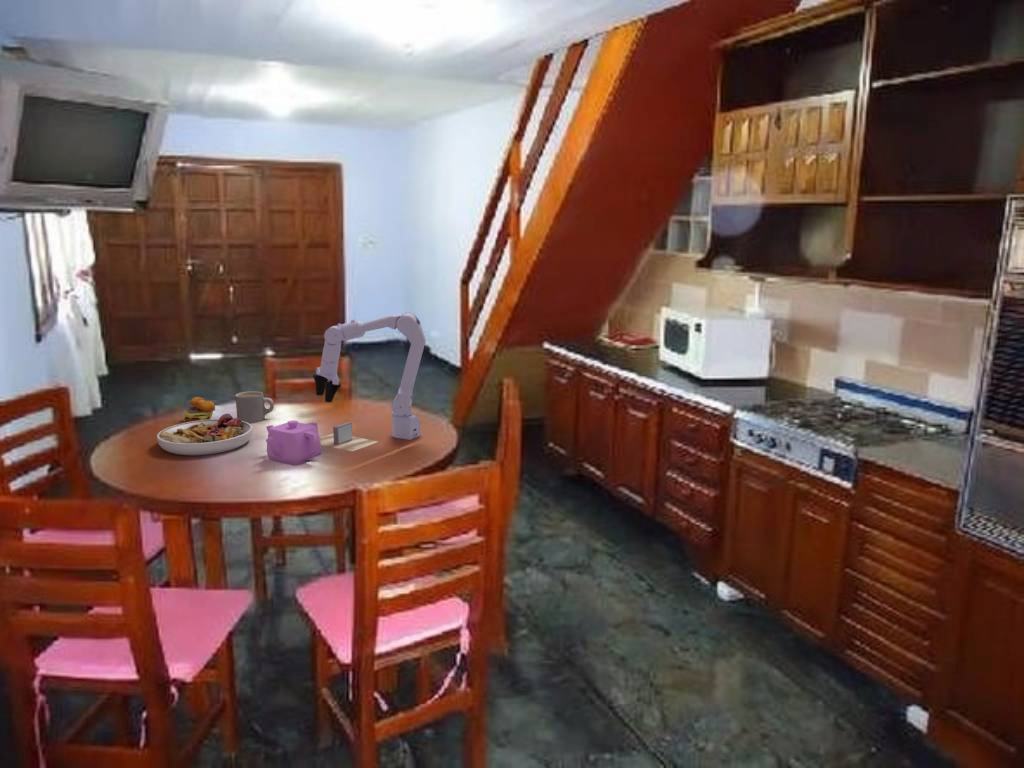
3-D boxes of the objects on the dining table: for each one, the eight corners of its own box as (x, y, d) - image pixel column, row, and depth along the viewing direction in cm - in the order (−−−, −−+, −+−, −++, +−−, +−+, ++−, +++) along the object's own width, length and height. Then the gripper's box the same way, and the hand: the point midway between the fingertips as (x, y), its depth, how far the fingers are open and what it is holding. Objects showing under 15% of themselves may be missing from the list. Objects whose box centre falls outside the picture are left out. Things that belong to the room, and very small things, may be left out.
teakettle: (322, 464, 235) (320, 426, 232) (265, 468, 230) (263, 430, 227) (321, 448, 251) (319, 412, 248) (268, 452, 246) (265, 416, 243)
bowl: (221, 461, 237) (219, 437, 235) (138, 455, 243) (135, 431, 241) (269, 435, 266) (268, 413, 264) (194, 430, 271) (192, 409, 270)
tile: (352, 439, 256) (352, 422, 255) (338, 444, 250) (337, 427, 249) (348, 438, 257) (347, 422, 256) (334, 443, 251) (333, 426, 250)
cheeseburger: (181, 418, 285) (186, 393, 284) (211, 422, 290) (215, 397, 289) (182, 424, 276) (187, 398, 275) (212, 428, 281) (217, 402, 280)
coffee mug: (233, 423, 280) (231, 397, 277) (241, 416, 289) (240, 391, 287) (270, 423, 280) (268, 397, 278) (276, 416, 290) (275, 391, 288)
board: (378, 445, 254) (378, 441, 254) (352, 455, 243) (351, 451, 243) (335, 435, 264) (335, 432, 264) (308, 445, 254) (308, 441, 253)
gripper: (310, 354, 258) (304, 391, 261) (327, 366, 247) (321, 404, 250) (329, 355, 263) (323, 392, 265) (347, 367, 252) (340, 405, 255)
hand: (323, 398), depth 258 cm, fingers open, 7 cm apart
